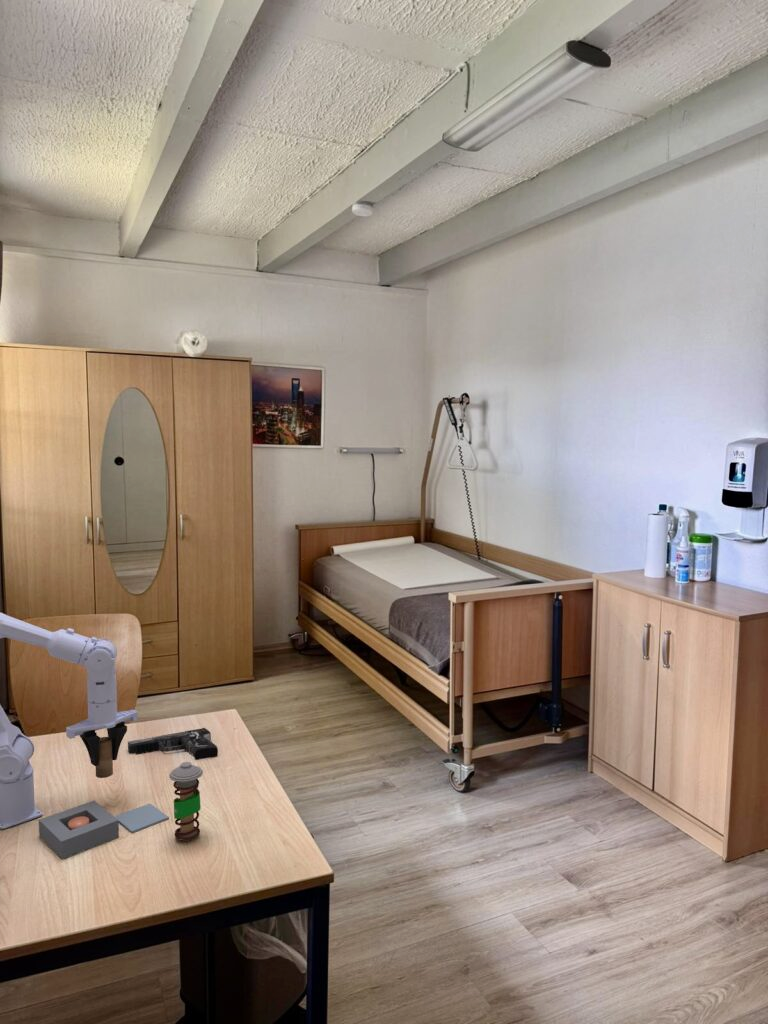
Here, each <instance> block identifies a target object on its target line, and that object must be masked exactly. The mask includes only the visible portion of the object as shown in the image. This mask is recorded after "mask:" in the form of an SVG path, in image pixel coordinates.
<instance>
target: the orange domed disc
mask: <svg viewBox="0 0 768 1024" xmlns="http://www.w3.org/2000/svg"><path fill="white" fill-rule="evenodd" d="M86 824H89V818H88V817H84V816H81V817H76V818H73V819H71V820H70V821H69V822H68V829H69V830H73V829H76V828H78V827H81V826H84V825H86Z"/></svg>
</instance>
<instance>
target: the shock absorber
mask: <svg viewBox="0 0 768 1024" xmlns="http://www.w3.org/2000/svg"><path fill="white" fill-rule="evenodd" d="M203 774H204V771H203V769H202V768H201V767H200V766H196V765H194V764H192V762H190V761H184V762H182V763H180V765H179V766H177V767H176V768H173V769H172V770H171V772H170V773H169V774H168V775H169V779H170V780H171V781H174V783H173V784H172V785H173V786H172V787H174V788H175V790H174V793H173V794H174V795H176V796H179V797H176V798H174V799H173V817H174V819H175V820H174V824H175V825H176V826H180V827H177V828H176V830H174V837H175V838H176V839H177V840H179V841H183V842H184V841H186V842H189V841H191V840H193V839H195V838H197V837H198V836H199V835H200V833H201V830H200V828H199V827H200V821H199V820H198V819H199V817H200V811H201V807H202V806H201V793H200V792H201V791H200V790H199V784H200V781H199V778H201V777H202V776H203ZM195 814H196V816H195ZM195 823H196V826H195Z"/></svg>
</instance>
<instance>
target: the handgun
mask: <svg viewBox="0 0 768 1024" xmlns="http://www.w3.org/2000/svg"><path fill="white" fill-rule="evenodd" d="M211 735H212V734H211V731H209V730H208V729H207V728H206V727H202V728H197V729H190V730H185V731H181V732H179V731H178V732H175V733H168V734H167V733H166V734H162V735H155V736H152V737H148V738H147V737H146V738H141V739H134V740H128V741H127V750H128V753H130V754H136V755H138V754H140V755H141V754H142V753H143V754H146V753H151V752H153V753H154V752H155V751H156V752H158V751H161V752H175V751H182V750H184V751H185V752H188V753H190V754H191V755H192V756H194V760H197V761H198V760H202V759H210V758H211V759H212V758H217V756H218V753H219V748H218V746H217V745H216V744H215V743H213V742H212V741H211V739H212V736H211Z"/></svg>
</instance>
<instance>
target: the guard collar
mask: <svg viewBox="0 0 768 1024" xmlns="http://www.w3.org/2000/svg"><path fill="white" fill-rule="evenodd" d="M81 816H84V817H88V818H89V824H86V825H84V826H81V827H78V828H76V829H73V830H69V829H68V822H69V821H70V820H71V819H73V818H76V817H81ZM38 832H39V836H38V837H39V838H40V839H41V840H42V841H43V842H44V843H45V844H46V845H47V846H48V847H49V848H50V849H51V850H52V851H53V852H54V853H55V854H56V855H57V857H59V858H60V859H61V860H64V859H67V858H69V857H72V856H75V855H77V854H79V853H82V852H85V851H87V850H90V849H93V848H95V847H98V846H101V845H103V844H105V843H108V842H109V841H110V842H111V841H112V840H115V839H118V838H119V837H120V832H119V822H118V819H116V818H115V817H114V815H112V814H111V813H110V812H109V811H108V810H106V808H104V807H103V806H102V805H100V804H99V803H98V802H97V801H96V800H91V801H88V802H86V803H84V804H80V805H78V806H75V807H74V806H73V807H72V808H68V809H65V810H63V811H60V812H57V813H53V814H51V815H49V816H46V817H42V818H41V819H38Z"/></svg>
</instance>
